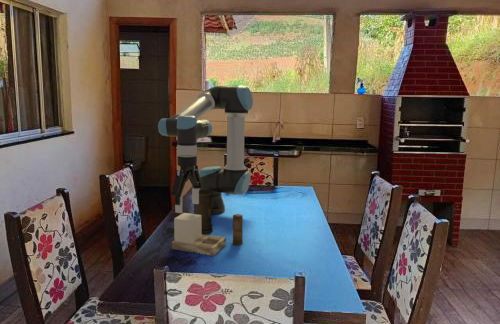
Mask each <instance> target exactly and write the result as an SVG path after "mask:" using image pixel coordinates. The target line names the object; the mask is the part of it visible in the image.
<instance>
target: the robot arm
mask: <svg viewBox="0 0 500 324" xmlns="http://www.w3.org/2000/svg"><path fill="white" fill-rule="evenodd" d="M253 102H254V99H253V95H252V92H251V89H250V88H249V87H248V86H246V85H216V86H212V87H210V88H208V89H206V90H204V91H203V92H201V93H199V94H198V96H197V99H195V100H193V101H192V102H191V103H189V104H188V105H187V106H186V107H183V108H182V109H181V110H180V111H179V112H177V113H175V114H174V115H173V116H171V117H164V118H161V119H160V120H159V121H158V124H157V129H158V133H159V134H160V135H161V136H165V137H176V138H177V139H176V140H177V144H176V148H177V149H176V150H177V155H178V156H177V158H176V160H177V166H179V167H180V169H179V170H178V169H176V170H175V177H174V181H173V185H172V190H171V197H174V210H175V213H177V214H183V196H182V194H183V192H184V188H185V185H186V183H187V182H188V181H190V184H191V186H192V189H191V204H193V205H194V204H199V190H209V191H211V192H212V195H211V215H218V214H223V213H224V212H225V210H226V205H225V202H224V199H223V196H222V194H230V195H240V196H241V195H245V194H246V193H247V192H248V190H249V188H250V185H251V173H250V172H248V171H247V170H248V169H247V166H245V163H244V162H245V132H246V129H245V123H246V121H245V120H246V116H247V115H248V114H249V111H251V110H252V108H253V104H254V103H253ZM214 110H224V114H225V115H226V117H227V123H226V124H227V126H226V128H227V131H226V132H227V133H226V164H225V165H224V166H223V168H222V166H219V165H216V166H215V165H214V166H206V167H203V168H201V169H199V165H198V156H197V154H198V151H197V149H198V147H197V145H198V144H197V142H198V140H197V139H204V138H206V137H209V136H210V135H211V134H212V133H213V125H212V123H211V122H210V120H207V119H202V118H201V117H202V116H204V115H205V114H206V113H207V112H209V113H210V112H212V111H214ZM200 118H201V119H200Z"/></svg>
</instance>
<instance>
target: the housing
mask: <svg viewBox="0 0 500 324" xmlns="http://www.w3.org/2000/svg"><path fill="white" fill-rule="evenodd" d="M173 221H174V223H173V228H174V230H173V231H174V234H173V235H174V240H177V241H184V242H190V243H193V242H194V241H196V240H197V239H198V238H200V237H201V236H202V223H201V215H197V214H194V213H189V212H188V213H187V212H182V213H180V214H179V215H177V216H176V217H174V218H173Z"/></svg>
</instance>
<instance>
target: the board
mask: <svg viewBox="0 0 500 324" xmlns="http://www.w3.org/2000/svg"><path fill="white" fill-rule="evenodd" d="M226 245H227V238H226V237H223V236H218V235H217V236H216V235H211V234H210V235H209V234H202V236H201V237H200V238H198V239H197V240H196V241H194V242H193V243H190V242H184V241H177V240H175V239H174V240H173V241H171V249H172V250H177V251H183V252H188V253H193V252H195V253H194V254H199V253H200V254H201V255H205V254H206V255H207V256H215V255H216V254H217V253H219V252H220V250H222V249H223V248H224V247H225V246H226ZM206 255H205V256H206Z"/></svg>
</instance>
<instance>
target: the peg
mask: <svg viewBox="0 0 500 324" xmlns="http://www.w3.org/2000/svg"><path fill="white" fill-rule="evenodd" d="M243 216H244V215H243V214H240V213H239V214H238V213H236V214H235V213H234V214H233V215H232V245H233V246H241V245H243V232H244V231H243V229H244V228H243V225H244V224H243V223H244V221H243V220H244V217H243Z"/></svg>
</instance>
